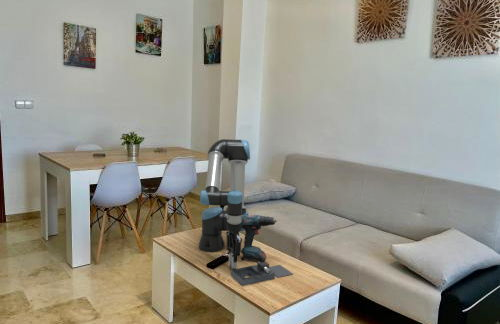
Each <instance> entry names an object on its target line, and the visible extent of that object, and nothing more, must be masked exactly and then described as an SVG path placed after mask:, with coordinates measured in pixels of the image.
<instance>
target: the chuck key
mask: <svg viewBox="0 0 500 324" xmlns="http://www.w3.org/2000/svg"><path fill="white" fill-rule="evenodd" d="M227 251H230V252H231V261H230V266H229V269H230V271H231V270H233V269H237V268H232V255H233V246H232V247H230V249H228V250H227Z"/></svg>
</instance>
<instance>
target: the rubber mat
mask: <svg viewBox="0 0 500 324" xmlns="http://www.w3.org/2000/svg"><path fill="white" fill-rule="evenodd" d="M269 269H270V270H272V271H273V272H274V273H275V278H277V279H279V278H283V277H288V276H292V275H293V276H294V273H293V272H291V271H290V270H288V269H287V268H285V267H284V266H283V265H281V264H277V265H271V266H269Z"/></svg>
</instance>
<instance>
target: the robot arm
mask: <svg viewBox="0 0 500 324" xmlns="http://www.w3.org/2000/svg"><path fill="white" fill-rule="evenodd" d="M249 143H250V142H249V140H247V139H245V140H244V139H228V138H227V139H226V138H224V139H219V140H217V141H215V142H214V143H212V145H211V146H210V148H209V149H208V151H207V157H206V158H207V160H208V162H207V171H206V179H205V186H204V187H205V188H204V190H201V191H200V193H199V203H200V204H201V205H202V206H203V205H204V206H213V207H209V208H205V209H204V210H203V211H202V214H201V215H202V216H201V236H200V238H199V241H198V249H199V250H200V251H203V252H206V253H207V252H209V253H216V252H220V251H223V250H224V249H225V241H224V237H223V234H222V233H223V232H225V233H226V250H227V251H228V249H230V247H232V246H233V255H232V268H236V269H238V258H239V257H240V256H241V250H242V242H243V239H242V238H241V237H240V232H246V231H245V229H243V228H242V223H241V222H242V215H244V214H247V215H249V211H247V208H246V207H245V205H244V204H245V176H246V173H245V172H246V165H247V163H248V162H249V160H250V159H251V151H250V144H249ZM225 159H227V160H228V163H229V164H230V175H229V177H230V178H229V190H227V191H226V190H220V184H221V174H222V162H223V161H224V160H225ZM219 206H225V207H226V208H225V210H223V208H222V207H219ZM230 261H231V252H230V251H228V266H229V267H230Z"/></svg>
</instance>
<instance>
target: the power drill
mask: <svg viewBox="0 0 500 324" xmlns="http://www.w3.org/2000/svg"><path fill="white" fill-rule="evenodd" d="M276 222H277V223H278V220H276V218H274V217H270V216H266V215H265V216H263V215H259V214H248V215H247V214H244V215H242V222H241V223H242V228H243V229H245V231H244V232H245V234H244V241H243V247H241V250H240V254H242V255H241V257H240V261H242V262H243V261H245V262H252V263H254V262H255V263H257V262H260V263H262V262H266V260H267V255H266V253H265V252H264V250H262V249H261V248H260V247H259V246H257V245H256V246H255V245H253V243H254V238H255V236H257V235H259V234H260V233H259V230H261V228H262V227H268V226H274V225H275V224H276Z"/></svg>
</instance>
